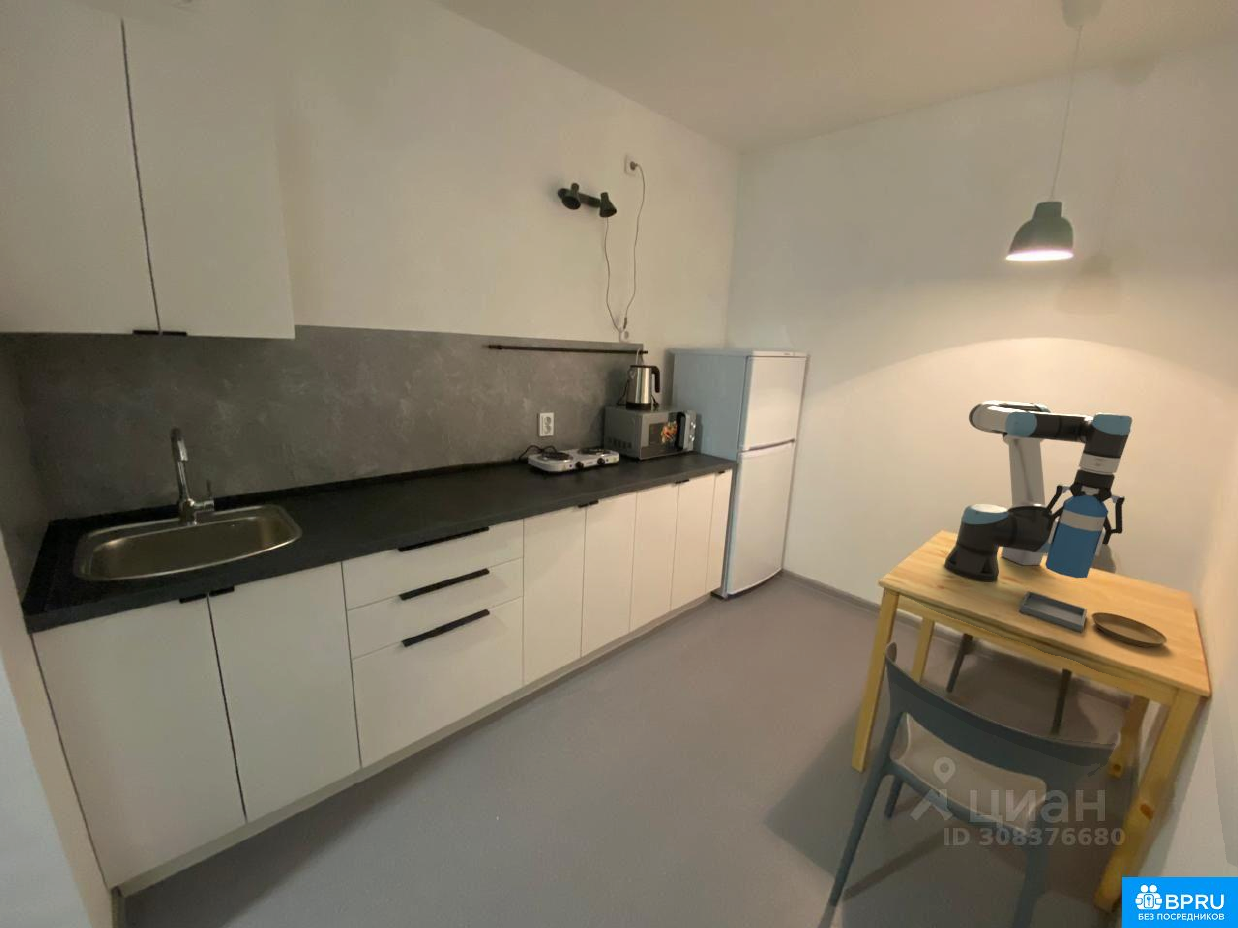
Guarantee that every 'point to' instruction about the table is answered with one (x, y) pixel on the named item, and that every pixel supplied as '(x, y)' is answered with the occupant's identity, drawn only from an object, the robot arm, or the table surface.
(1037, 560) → the soap bottle
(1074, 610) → the tray
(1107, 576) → the table surface
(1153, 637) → the plant saucer
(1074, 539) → the water bottle
